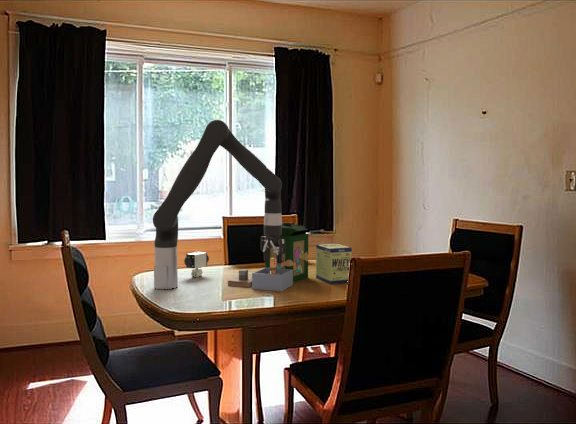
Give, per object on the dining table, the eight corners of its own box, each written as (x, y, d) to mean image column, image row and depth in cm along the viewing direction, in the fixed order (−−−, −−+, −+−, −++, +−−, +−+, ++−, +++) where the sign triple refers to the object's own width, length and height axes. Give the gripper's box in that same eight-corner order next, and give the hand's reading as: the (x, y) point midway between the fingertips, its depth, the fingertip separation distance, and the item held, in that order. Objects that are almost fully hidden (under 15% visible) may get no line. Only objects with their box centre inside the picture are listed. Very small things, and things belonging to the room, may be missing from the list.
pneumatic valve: (209, 275, 262) (209, 249, 261) (191, 279, 252) (191, 252, 251) (200, 274, 265) (200, 248, 264) (182, 278, 256) (182, 251, 255)
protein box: (330, 284, 243) (330, 248, 242) (315, 277, 257) (315, 244, 256) (352, 282, 247) (352, 247, 245) (335, 276, 261) (336, 243, 260)
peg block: (282, 286, 235) (282, 259, 234) (268, 287, 233) (268, 259, 232) (278, 283, 241) (278, 256, 240) (264, 284, 239) (264, 257, 239)
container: (292, 283, 244) (292, 226, 242) (260, 278, 255) (260, 223, 253) (311, 278, 256) (311, 223, 254) (280, 273, 267) (280, 221, 265)
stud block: (249, 287, 237) (249, 272, 236) (227, 285, 240) (227, 271, 240) (258, 282, 246) (258, 268, 245) (237, 280, 249) (237, 267, 249)
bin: (281, 291, 229) (281, 275, 228) (252, 288, 233) (252, 273, 233) (292, 284, 241) (292, 269, 241) (264, 282, 246) (264, 267, 245)
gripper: (290, 224, 232) (290, 263, 233) (269, 221, 243) (269, 259, 244) (276, 225, 227) (276, 265, 229) (255, 222, 238) (255, 260, 239)
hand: (272, 262), depth 236 cm, fingers open, 8 cm apart
